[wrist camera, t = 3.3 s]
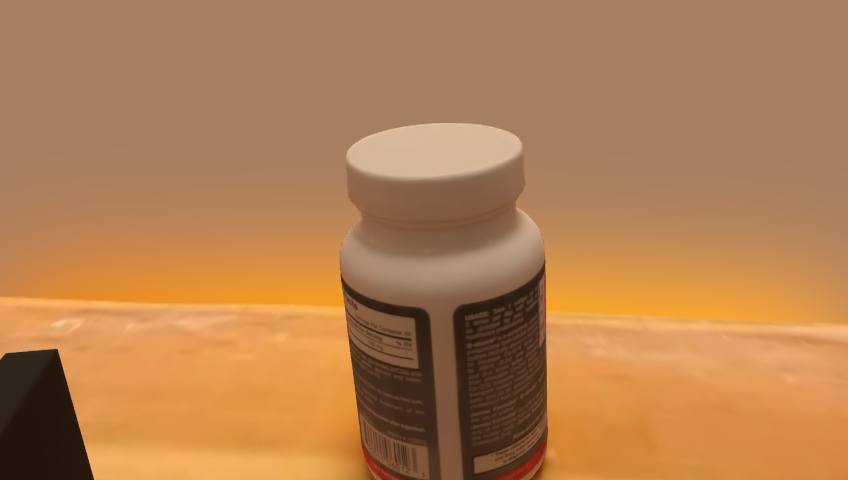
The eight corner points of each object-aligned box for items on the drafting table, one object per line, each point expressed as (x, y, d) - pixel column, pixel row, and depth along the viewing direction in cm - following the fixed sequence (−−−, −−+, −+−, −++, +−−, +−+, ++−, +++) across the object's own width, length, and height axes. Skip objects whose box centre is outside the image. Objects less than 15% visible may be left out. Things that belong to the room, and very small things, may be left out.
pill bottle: (530, 392, 28) (528, 110, 24) (564, 509, 22) (568, 173, 18) (364, 405, 28) (333, 124, 24) (359, 526, 22) (318, 191, 18)
